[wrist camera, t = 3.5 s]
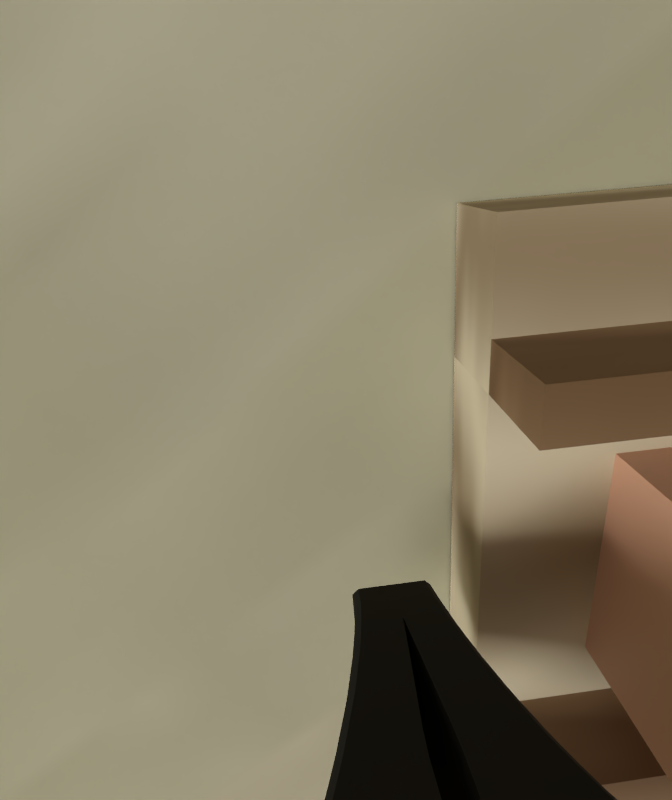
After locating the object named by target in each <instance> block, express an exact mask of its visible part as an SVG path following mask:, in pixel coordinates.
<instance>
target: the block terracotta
mask: <svg viewBox="0 0 672 800" xmlns="http://www.w3.org/2000/svg"><path fill="white" fill-rule="evenodd" d="M585 647H586V649H587V651H588V652H589V654H590V655H591V657H592V658H593V660H594V662H595V663H596V665H597V666H598V668H599V670H600V671H601V673H602V674H603V676H604V677H605V679H606V681H607V682H608V684H609V685H610V687H611V689H612V690H613V692H614V693H615V695H616V696H617V698H618V700H619V701H620V703H621V704H622V706H623V707H624V709H625V711H626V712H627V714H628V715H629V717H630V719H631V720H632V722H633V723H634V725H635V726H636V728H637V730H638V731H639V733H640V734H641V736H642V737H643V739H644V741H645V742H646V744H647V745H648V747H649V749H650V750H651V752H652V753H653V755H654V756H655V758H656V760H657V761H658V763H659V764H660V766H661V768H662V769H663V771H664V772H665V774H666V775H667V777H668V779H669V780H670V782H671V783H672V447H668V448H659V449H651V450H642V451H634V452H625V453H617V454H616V455H615V462H614V468H613V474H612V480H611V487H610V493H609V499H608V506H607V512H606V518H605V525H604V531H603V537H602V543H601V550H600V556H599V562H598V569H597V575H596V581H595V588H594V594H593V600H592V607H591V613H590V619H589V625H588V632H587V638H586V644H585Z"/></svg>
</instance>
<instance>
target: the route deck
mask: <svg viewBox="0 0 672 800" xmlns="http://www.w3.org/2000/svg"><path fill="white" fill-rule="evenodd" d="M668 447H672V184H670V185H659V186H647V187H636V188H624V189H613V190H601V191H590V192H578V193H567V194H555V195H544V196H532V197H521V198H509V199H498V200H487V201H475V202H464V203H457V233H456V293H455V353H454V412H453V472H452V531H451V591H450V615H451V616H452V618H453V619H454V621H455V622H456V623H457V625H458V626H459V627H460V629H461V630H462V631H463V633H464V634H465V635H466V637H467V638H468V639H469V641H470V642H471V643H472V644H473V646H474V647H475V648H476V649H477V651H478V652H479V653H480V654H481V656H482V657H483V658H484V659H485V661H486V662H487V663H488V664H489V665H490V667H491V668H492V669H493V670H494V671H495V673H496V674H497V675H498V676H499V677H500V679H501V680H502V681H503V682H504V683H505V685H506V686H507V687H508V688H509V689H510V690H511V692H512V693H513V694H514V695H515V696H516V697H517V698H518V700H519V701H520V702H521V703H522V704H523V705H524V706H525V707H526V708H527V709H528V711H529V712H530V713H531V714H532V715H533V716H534V717H535V718H536V719H537V720H538V721H539V723H540V724H541V725H542V726H543V727H544V728H545V729H546V730H547V731H548V732H549V733H550V734H551V735H552V736H553V737H554V738H555V740H556V741H557V742H558V743H559V744H560V745H561V746H562V747H563V748H564V749H565V750H566V751H567V752H568V753H569V754H570V755H571V756H572V757H573V758H574V759H575V760H576V761H577V762H578V763H579V764H580V765H581V766H582V767H583V768H584V769H585V770H586V771H587V772H588V773H589V774H591V775H592V776H593V777H594V778H595V779H596V780H597V781H598V782H599V783H600V784H601V785H602V786H603V787H604V788H605V789H606V790H607V791H608V792H609V793H610V794H612V795H613V796H614V797H615V798H616V799H617V800H672V783H671V782H670V780H669V779H668V777H667V775H666V774H665V772H664V771H663V769H662V768H661V766H660V764H659V763H658V761H657V760H656V758H655V756H654V755H653V753H652V752H651V750H650V749H649V747H648V745H647V744H646V742H645V741H644V739H643V737H642V736H641V734H640V733H639V731H638V730H637V728H636V726H635V725H634V723H633V722H632V720H631V719H630V717H629V715H628V714H627V712H626V711H625V709H624V707H623V706H622V704H621V703H620V701H619V700H618V698H617V696H616V695H615V693H614V692H613V690H612V689H611V687H610V685H609V684H608V682H607V681H606V679H605V677H604V676H603V674H602V673H601V671H600V670H599V668H598V666H597V665H596V663H595V662H594V660H593V658H592V657H591V655H590V654H589V652H588V651H587V649H586V647H585V644H586V638H587V632H588V625H589V619H590V613H591V607H592V600H593V594H594V588H595V581H596V575H597V569H598V562H599V556H600V550H601V543H602V537H603V531H604V525H605V518H606V512H607V506H608V499H609V493H610V487H611V480H612V474H613V468H614V462H615V455H616V454H617V453H625V452H634V451H642V450H651V449H659V448H668Z"/></svg>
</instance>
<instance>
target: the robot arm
mask: <svg viewBox="0 0 672 800" xmlns="http://www.w3.org/2000/svg"><path fill="white" fill-rule="evenodd" d="M353 605H354V617H355V636H354V649H353V659H352V667H351V674H350V681H349V689H348V696H347V702H346V707H345V712H344V717H343V722H342V727H341V732H340V737H339V742H338V747H337V752H336V756H335V761H334V765H333V769H332V773H331V777H330V781H329V785H328V789H327V793H326V797H325V800H617V799H616V798H615V797H614V796H613V795H612V794H610V793H609V792H608V791H607V790H606V789H605V788H604V787H603V786H602V785H601V784H600V783H599V782H598V781H597V780H596V779H595V778H594V777H593V776H592V775H591V774H589V773H588V772H587V771H586V770H585V769H584V768H583V767H582V766H581V765H580V764H579V763H578V762H577V761H576V760H575V759H574V758H573V757H572V756H571V755H570V754H569V753H568V752H567V751H566V750H565V749H564V748H563V747H562V746H561V745H560V744H559V743H558V742H557V741H556V740H555V738H554V737H553V736H552V735H551V734H550V733H549V732H548V731H547V730H546V729H545V728H544V727H543V726H542V725H541V724H540V723H539V721H538V720H537V719H536V718H535V717H534V716H533V715H532V714H531V713H530V712H529V711H528V709H527V708H526V707H525V706H524V705H523V704H522V703H521V702H520V701H519V700H518V698H517V697H516V696H515V695H514V694H513V693H512V692H511V690H510V689H509V688H508V687H507V686H506V685H505V683H504V682H503V681H502V680H501V679H500V677H499V676H498V675H497V674H496V673H495V671H494V670H493V669H492V668H491V667H490V665H489V664H488V663H487V662H486V661H485V659H484V658H483V657H482V656H481V654H480V653H479V652H478V651H477V649H476V648H475V647H474V646H473V644H472V643H471V642H470V641H469V639H468V638H467V637H466V635H465V634H464V633H463V631H462V630H461V629H460V627H459V626H458V625H457V623H456V622H455V621H454V619H453V618H452V616H451V615H450V614H449V612H448V611H447V609H446V608H445V606H444V605H443V604H442V602H441V601H440V599H439V598H438V596H437V595H436V593H435V592H434V590H433V588H432V587H431V585H430V584H428V583H427V582H426V581H417V582H409V583H402V584H394V585H386V586H379V587H371V588H363V589H358V590H357V591H356V592H355V593H354V594H353Z"/></svg>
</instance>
